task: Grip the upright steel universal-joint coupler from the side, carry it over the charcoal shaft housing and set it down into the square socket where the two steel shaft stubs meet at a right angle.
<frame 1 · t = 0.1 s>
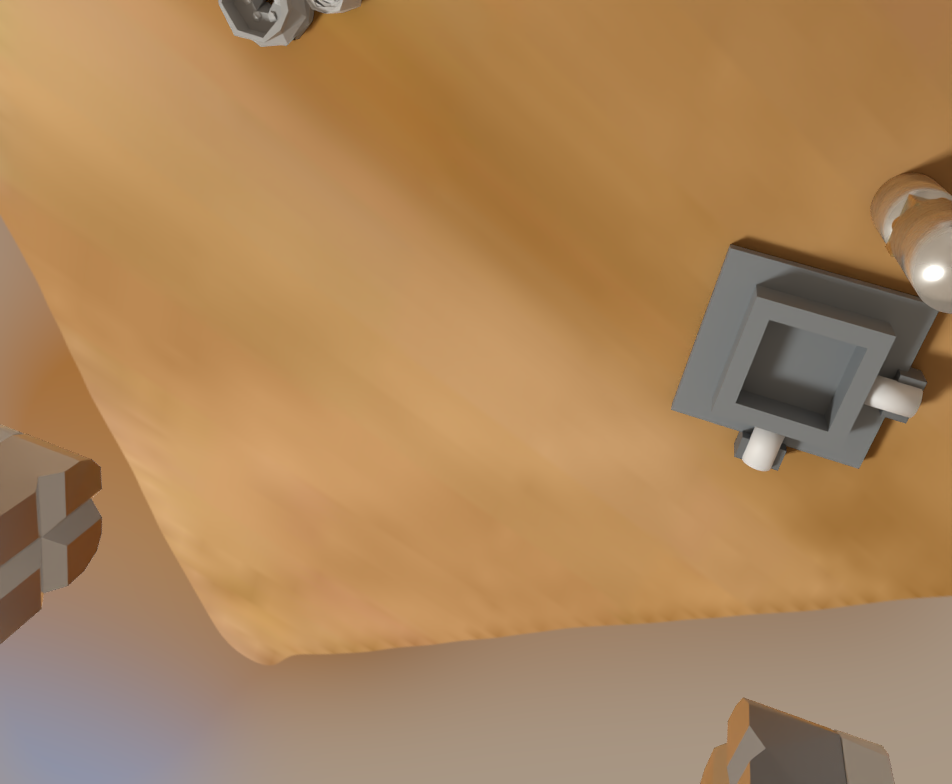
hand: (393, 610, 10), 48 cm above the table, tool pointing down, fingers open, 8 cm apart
shaft housing: (795, 356, 56), on the table
coupler: (907, 206, 50), on the table
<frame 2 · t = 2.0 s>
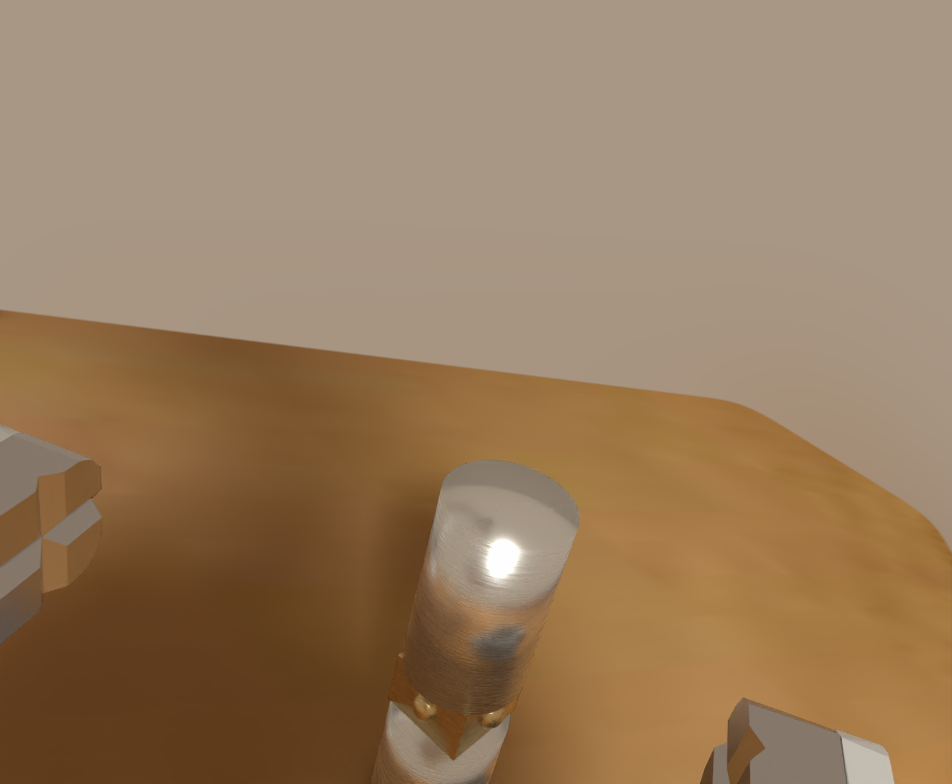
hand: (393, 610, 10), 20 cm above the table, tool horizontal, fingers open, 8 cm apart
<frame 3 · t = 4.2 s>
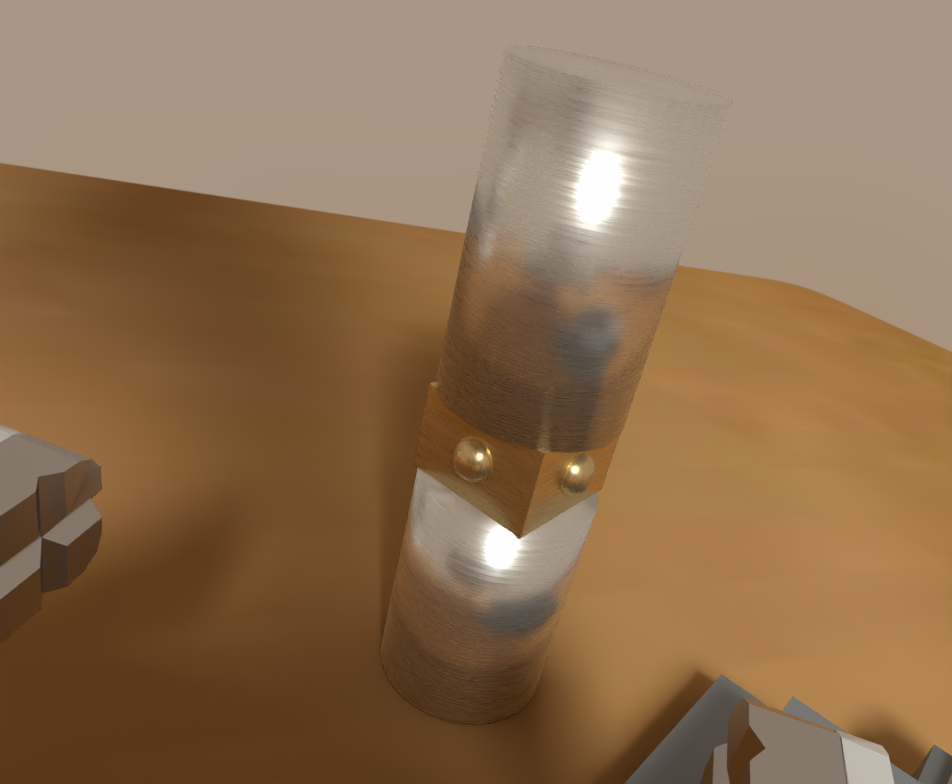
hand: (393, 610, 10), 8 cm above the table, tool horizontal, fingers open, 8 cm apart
coupler: (460, 657, 21), on the table
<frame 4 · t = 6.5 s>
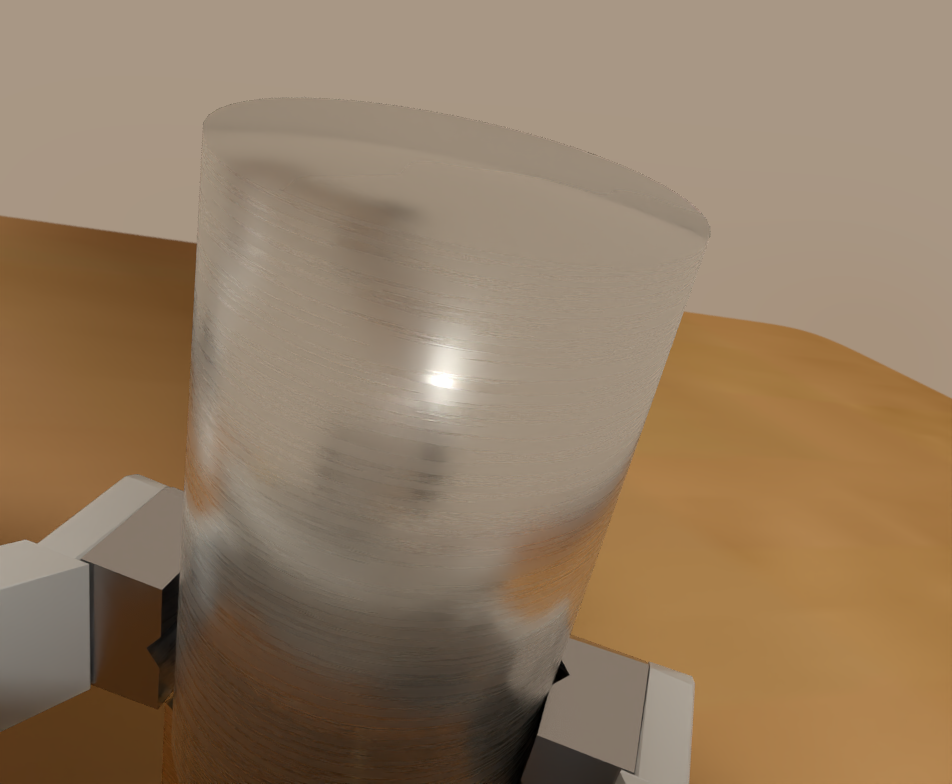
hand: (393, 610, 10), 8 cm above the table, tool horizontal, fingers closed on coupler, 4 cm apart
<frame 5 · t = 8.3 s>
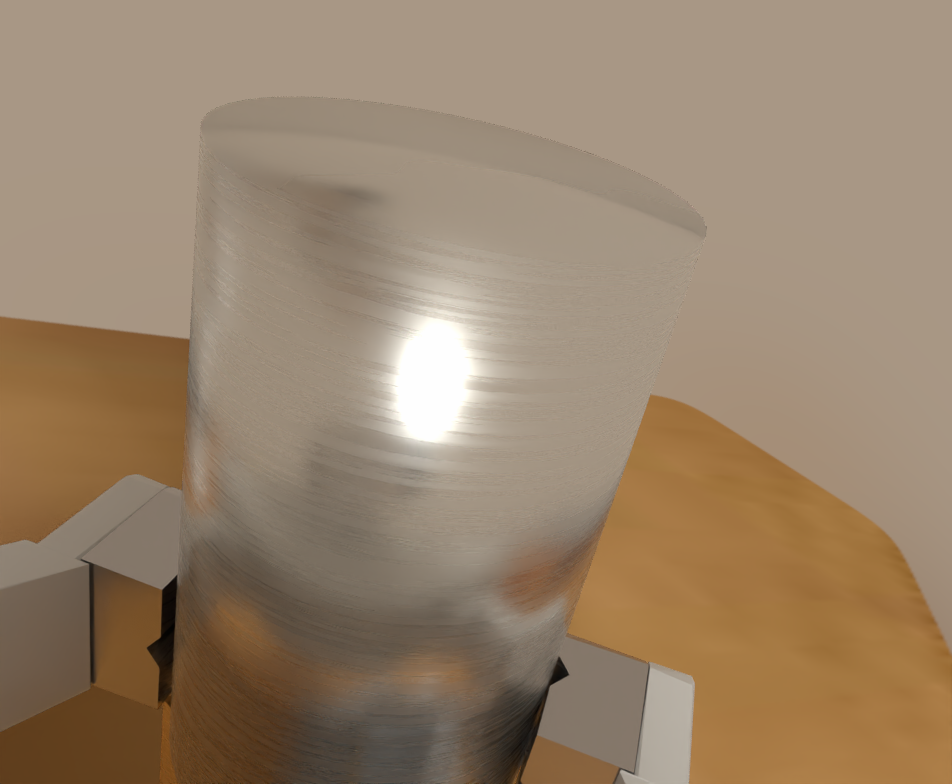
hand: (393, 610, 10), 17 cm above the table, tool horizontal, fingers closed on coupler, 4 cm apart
when the fingers open (11 cm above the table, at t = 10.4 s): coupler drops 2 cm, resting on shaft housing.
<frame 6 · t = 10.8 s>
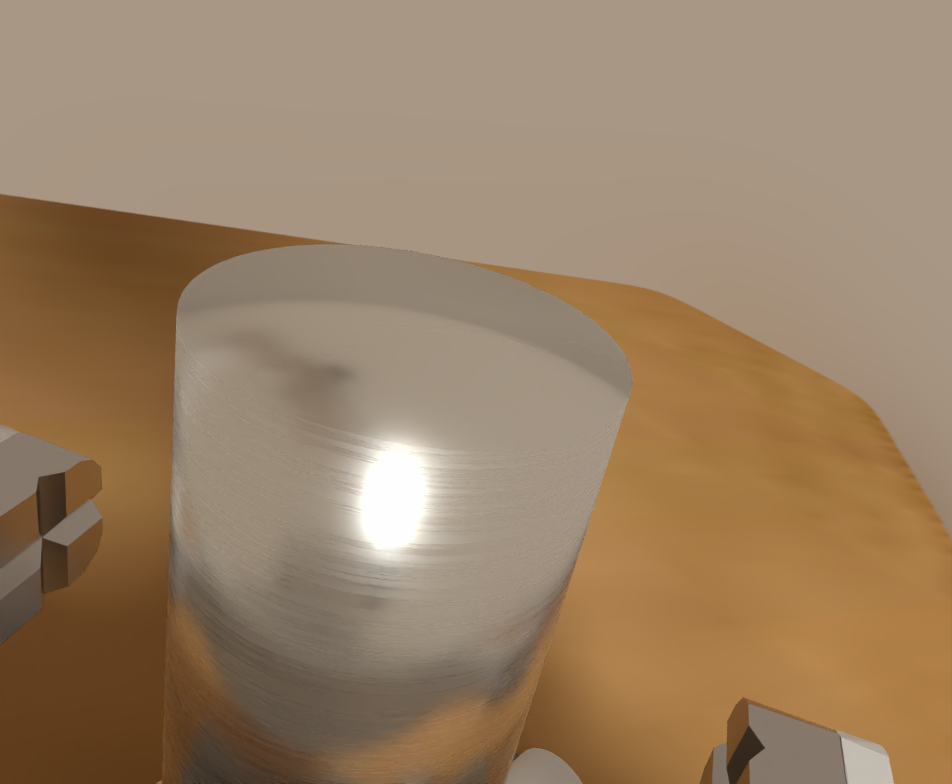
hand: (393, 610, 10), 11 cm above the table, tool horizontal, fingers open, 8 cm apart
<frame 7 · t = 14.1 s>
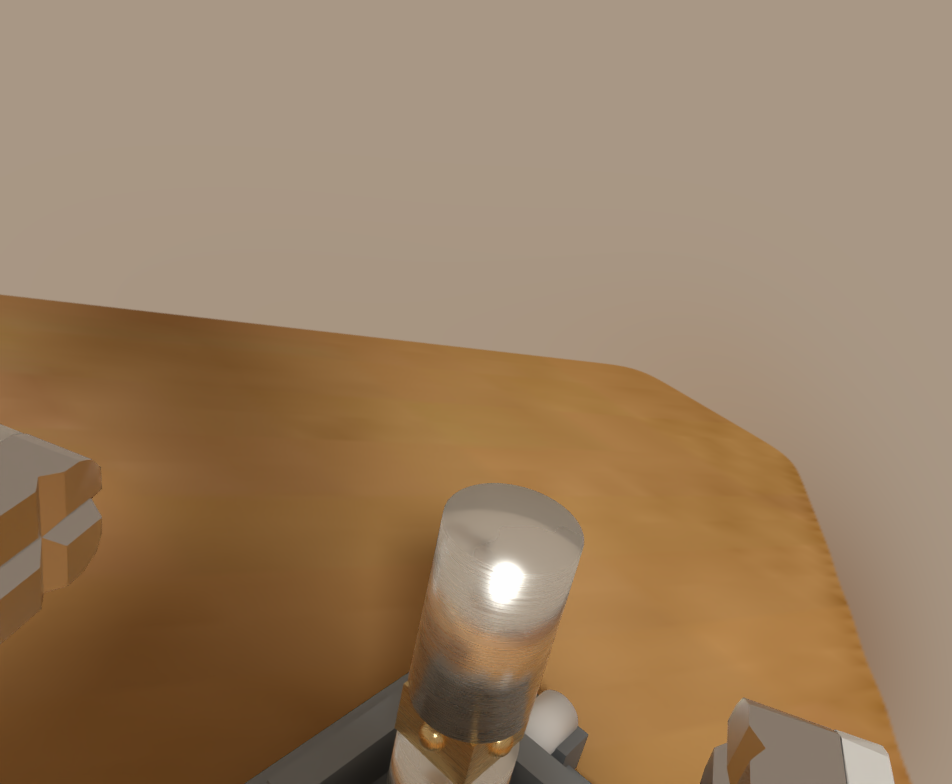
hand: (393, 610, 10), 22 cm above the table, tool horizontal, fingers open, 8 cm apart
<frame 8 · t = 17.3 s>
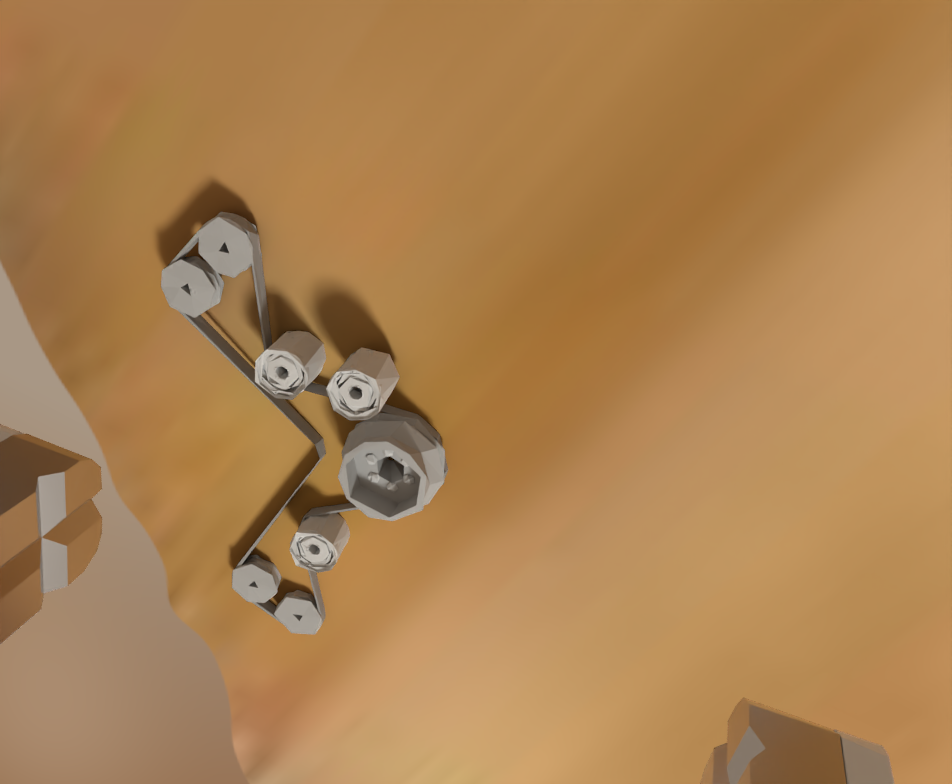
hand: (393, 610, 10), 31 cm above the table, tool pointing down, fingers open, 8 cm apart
pulley system: (330, 441, 49), on the table
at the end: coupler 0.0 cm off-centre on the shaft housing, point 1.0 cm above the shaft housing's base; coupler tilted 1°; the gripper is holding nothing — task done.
